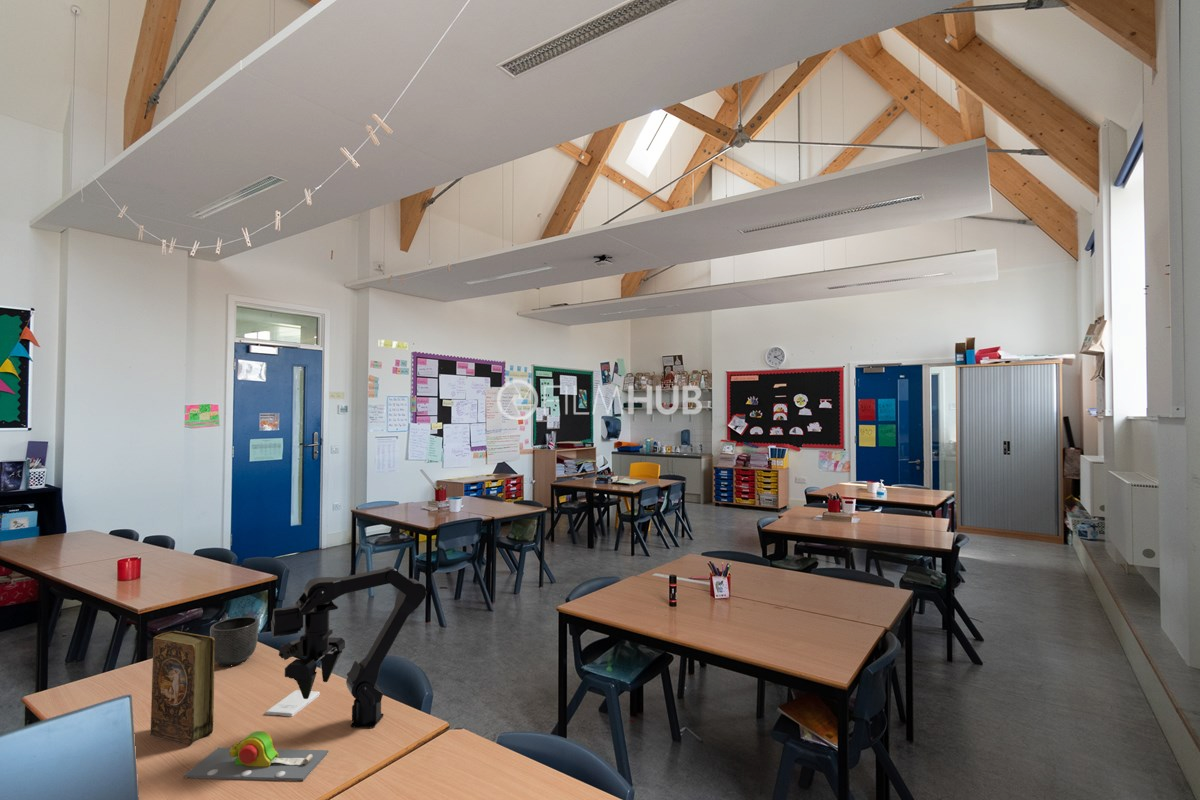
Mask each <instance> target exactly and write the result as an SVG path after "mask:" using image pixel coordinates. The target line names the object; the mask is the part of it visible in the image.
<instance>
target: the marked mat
mask: <svg viewBox="0 0 1200 800" xmlns="http://www.w3.org/2000/svg"><path fill="white" fill-rule="evenodd" d="M231 748H232V747H217V748H215V750H213V751H212V752H211V753H209V754H208V755H207V756H206V757H204V758H203V759H202V760H201V761H200V762H198V763H197V764H196V765H195V766H193V767H192V768H191V769H190V770H188V771H187V772H186V773H184V774H183V778H184V777H190V778H189V779H209V780H211V779H216V780H217V779H218V780H245V781H246V780H248V781H249V780H251V781H256V780H257V781H282V780H291V781H293V782H295V781H296V782H299V781H298V780H304V781H305V780H306V779H307V777H308V776H309V775H310V774H311V773H312V772H313V771H314V769H316V767H317V766H318V765H319V764H320V763H321V762H322V761H323V760H324V758H325V757H326V756H327V755H328V754H329V753H328V752H329V750H328V749H298V748H297V749H295V748H293V749H291V748H274V749H275V751H276V752H277V753H278V755H279V756H278V758H306V757H307V756H308V755H309V754H312V755H313V758H312V759H311V760H310V761H309V762H308V764H306V765H305V764H302V765H286V764H282V763H272V764H271V765H270V766H269V767H257V766H246V765H236V764H235V760H236V758H237V757H231V756H230V754H229V751H230V749H231ZM327 753H328V754H327ZM321 760H322V761H321ZM311 771H312V772H311ZM310 772H311V773H310ZM291 781H290V782H291Z"/></svg>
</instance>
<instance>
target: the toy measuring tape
mask: <svg viewBox="0 0 1200 800" xmlns="http://www.w3.org/2000/svg"><path fill="white" fill-rule="evenodd" d="M273 741H274V740H273V738H272V736H271V735H270V734H269V733H268V732H266V731H260V730H258V731H253V732H251V733H250V734H249V735H247V736H246V737H245V738H243V740H242V741H241V742H240V741H237V742H236V743H235V744H233V745H232V747H230V748H231V749H230V751H229V754H230V756H231V757H237V758H236V760H235V764H236V765H246V766H257V767H269V766H270V765H271V764H272V763H282V764H286V765H302V764H305V765H306V764H308V762H309V761H310V760H311V759H312V758H313V755H312V754H309V755H308V756H307V757H306V758H278V756H279V755H278V753H277V752H276V751H275V749H276V748H275V746H274V743H273Z"/></svg>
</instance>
